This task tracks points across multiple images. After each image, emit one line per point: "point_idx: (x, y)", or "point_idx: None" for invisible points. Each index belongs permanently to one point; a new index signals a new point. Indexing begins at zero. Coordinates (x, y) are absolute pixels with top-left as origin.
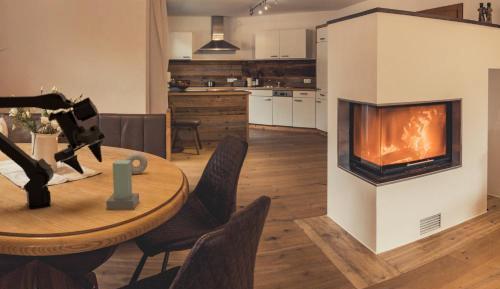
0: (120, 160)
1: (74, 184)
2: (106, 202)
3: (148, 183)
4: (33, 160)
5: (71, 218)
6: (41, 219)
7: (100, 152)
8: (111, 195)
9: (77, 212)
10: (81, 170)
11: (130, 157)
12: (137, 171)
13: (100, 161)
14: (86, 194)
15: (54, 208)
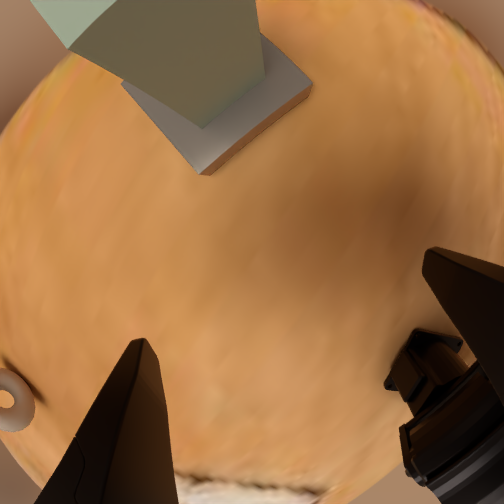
0: (56, 18)
1: (200, 457)
2: (311, 84)
3: (15, 278)
4: (499, 490)
5: (450, 134)
6: (498, 218)
7: (85, 435)
8: (232, 144)
9: (407, 172)
10: (462, 257)
11: (4, 419)
12: (15, 379)
13: (149, 353)
14: (233, 359)
15: (424, 294)
